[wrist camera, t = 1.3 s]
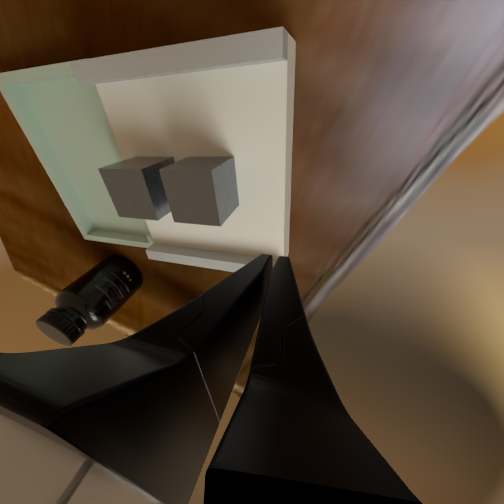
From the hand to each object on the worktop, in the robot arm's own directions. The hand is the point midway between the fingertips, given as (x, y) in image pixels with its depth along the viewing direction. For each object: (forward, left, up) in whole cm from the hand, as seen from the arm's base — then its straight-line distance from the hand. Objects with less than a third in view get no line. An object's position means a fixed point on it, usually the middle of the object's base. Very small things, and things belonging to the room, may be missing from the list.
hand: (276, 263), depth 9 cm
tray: (0, +23, -13) cm, 27 cm away
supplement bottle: (-16, +27, -13) cm, 34 cm away
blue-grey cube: (0, +7, -10) cm, 12 cm away
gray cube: (0, +13, -10) cm, 16 cm away
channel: (0, +9, -13) cm, 16 cm away
